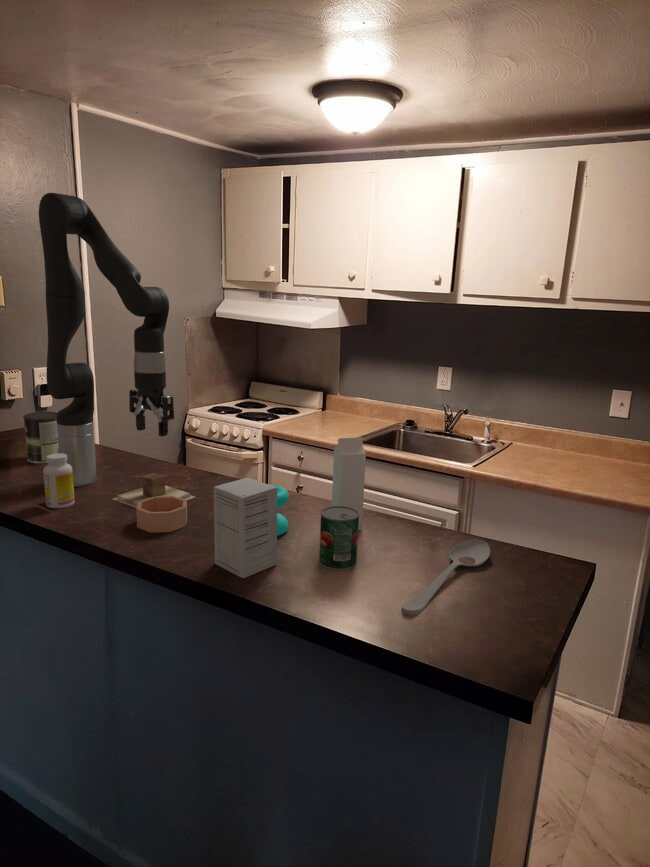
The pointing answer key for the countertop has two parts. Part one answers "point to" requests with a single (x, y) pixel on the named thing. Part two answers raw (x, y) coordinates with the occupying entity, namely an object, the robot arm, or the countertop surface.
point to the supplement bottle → (58, 482)
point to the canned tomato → (338, 537)
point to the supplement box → (245, 526)
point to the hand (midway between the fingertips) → (152, 432)
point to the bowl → (161, 514)
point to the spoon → (448, 573)
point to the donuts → (281, 500)
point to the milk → (349, 475)
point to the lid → (152, 490)
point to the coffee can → (40, 436)
